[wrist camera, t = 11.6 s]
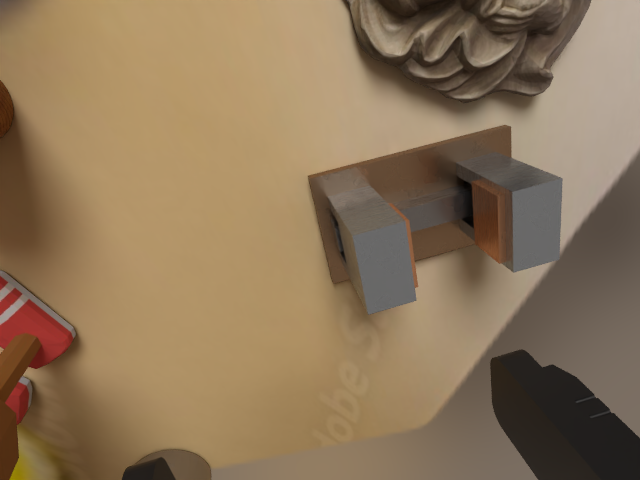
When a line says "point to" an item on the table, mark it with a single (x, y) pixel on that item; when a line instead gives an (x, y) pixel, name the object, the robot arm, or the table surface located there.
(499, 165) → the rail
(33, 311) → the toy
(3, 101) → the disposable coffee cup
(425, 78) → the sculpture
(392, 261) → the block
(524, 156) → the table surface
